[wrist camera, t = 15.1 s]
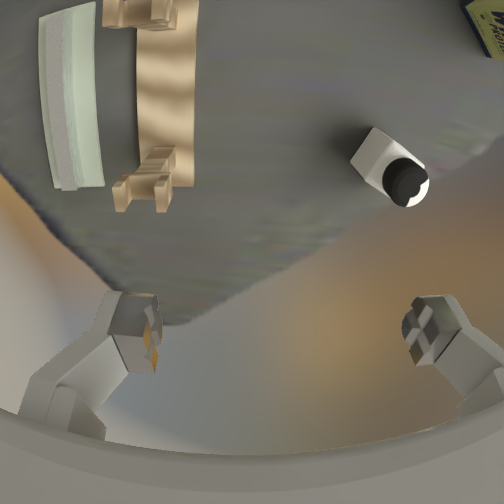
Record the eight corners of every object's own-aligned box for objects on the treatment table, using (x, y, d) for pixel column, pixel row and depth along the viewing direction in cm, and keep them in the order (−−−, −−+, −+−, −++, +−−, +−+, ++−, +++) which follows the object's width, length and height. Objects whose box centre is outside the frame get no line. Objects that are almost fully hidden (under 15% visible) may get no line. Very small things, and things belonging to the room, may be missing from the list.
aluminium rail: (56, 18, 27) (46, 17, 24) (73, 13, 27) (63, 12, 24) (69, 182, 43) (61, 190, 41) (84, 181, 44) (76, 190, 41)
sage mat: (41, 18, 26) (39, 17, 26) (96, 1, 27) (94, 1, 26) (56, 186, 44) (54, 188, 44) (104, 184, 45) (103, 186, 44)
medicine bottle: (348, 162, 44) (377, 197, 35) (373, 125, 41) (410, 151, 31) (380, 183, 47) (412, 221, 37) (404, 149, 43) (443, 181, 33)
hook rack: (141, -7, 27) (96, -29, 15) (199, -13, 28) (179, -43, 16) (144, 183, 45) (112, 237, 33) (194, 183, 46) (177, 239, 34)
